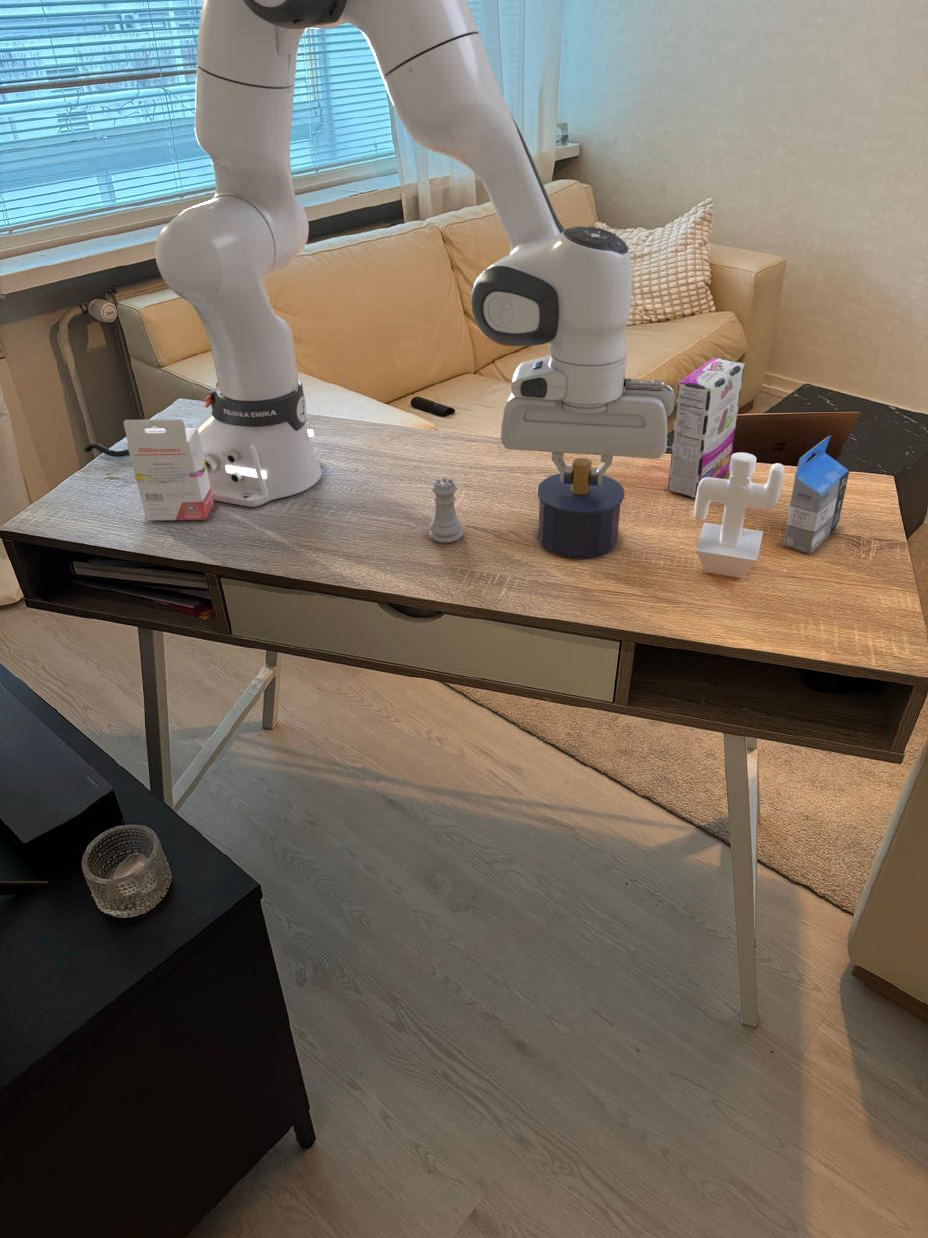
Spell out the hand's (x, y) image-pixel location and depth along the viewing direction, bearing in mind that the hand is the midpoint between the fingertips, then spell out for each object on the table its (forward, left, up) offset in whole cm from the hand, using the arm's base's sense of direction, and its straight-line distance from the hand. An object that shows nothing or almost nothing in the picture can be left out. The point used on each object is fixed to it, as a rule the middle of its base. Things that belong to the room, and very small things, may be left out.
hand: (580, 482), depth 116 cm
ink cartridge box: (-55, -1, -8) cm, 56 cm away
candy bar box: (+16, +19, -8) cm, 26 cm away
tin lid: (0, 0, -2) cm, 2 cm away
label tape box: (+30, +5, -8) cm, 31 cm away
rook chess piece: (-17, -2, -8) cm, 19 cm away
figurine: (+19, -4, -8) cm, 21 cm away
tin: (0, 0, -8) cm, 8 cm away
